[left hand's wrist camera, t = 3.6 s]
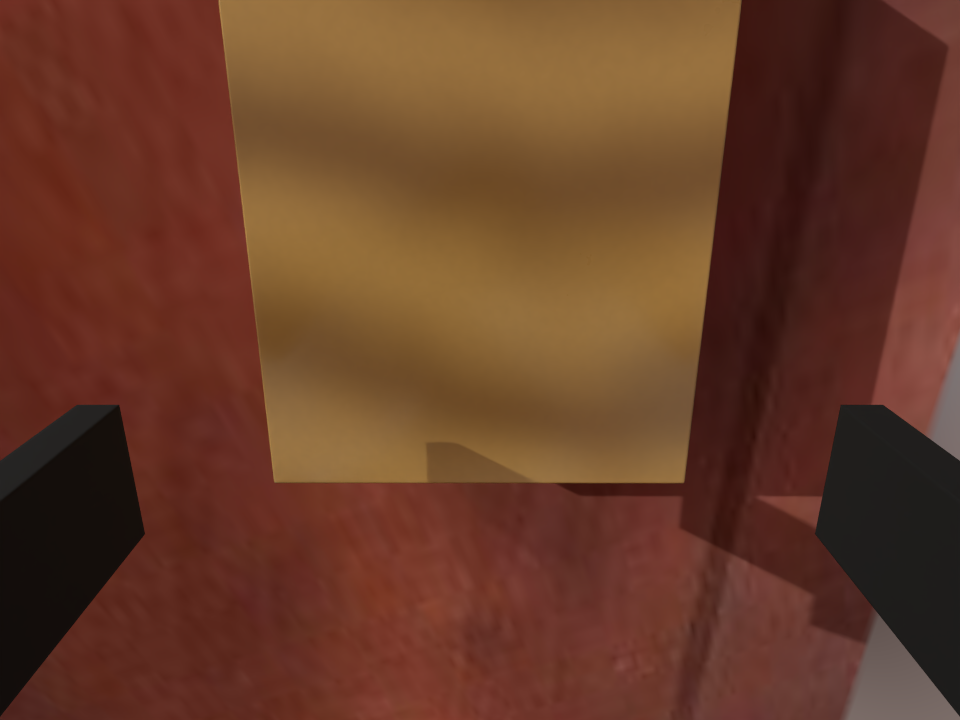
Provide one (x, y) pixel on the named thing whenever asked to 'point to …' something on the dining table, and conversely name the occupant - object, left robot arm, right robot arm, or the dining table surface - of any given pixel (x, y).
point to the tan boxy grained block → (479, 231)
